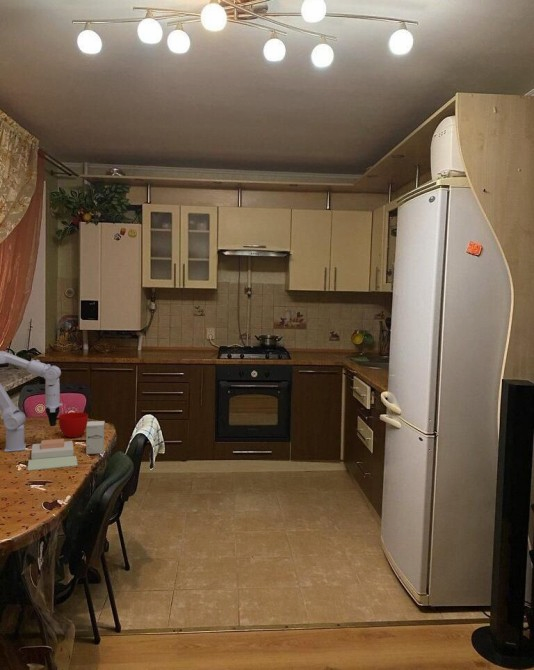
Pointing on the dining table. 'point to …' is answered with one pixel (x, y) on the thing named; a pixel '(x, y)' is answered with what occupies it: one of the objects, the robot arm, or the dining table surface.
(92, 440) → the supplement box
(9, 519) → the dining table surface
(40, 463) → the mat
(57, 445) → the tile
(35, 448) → the deck
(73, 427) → the ceramic cup
